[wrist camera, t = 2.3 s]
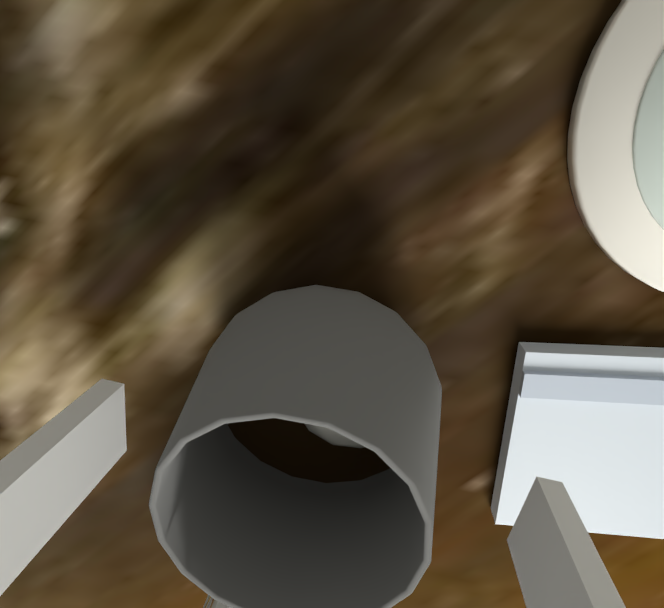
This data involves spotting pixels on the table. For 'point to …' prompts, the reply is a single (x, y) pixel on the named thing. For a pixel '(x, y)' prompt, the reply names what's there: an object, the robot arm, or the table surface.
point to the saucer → (623, 141)
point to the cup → (305, 457)
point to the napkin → (587, 434)
